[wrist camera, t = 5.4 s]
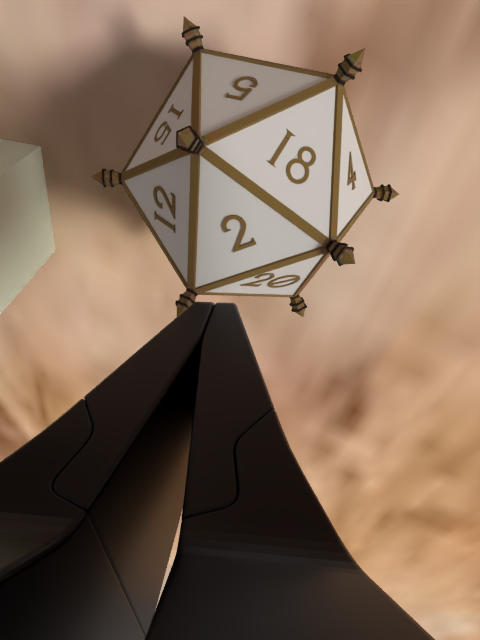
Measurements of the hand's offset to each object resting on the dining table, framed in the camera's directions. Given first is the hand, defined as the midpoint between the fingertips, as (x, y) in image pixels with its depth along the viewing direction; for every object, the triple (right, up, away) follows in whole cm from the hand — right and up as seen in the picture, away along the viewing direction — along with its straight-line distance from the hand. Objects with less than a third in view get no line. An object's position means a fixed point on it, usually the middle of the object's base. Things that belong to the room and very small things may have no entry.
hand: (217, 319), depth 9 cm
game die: (+1, +7, +9) cm, 11 cm away
